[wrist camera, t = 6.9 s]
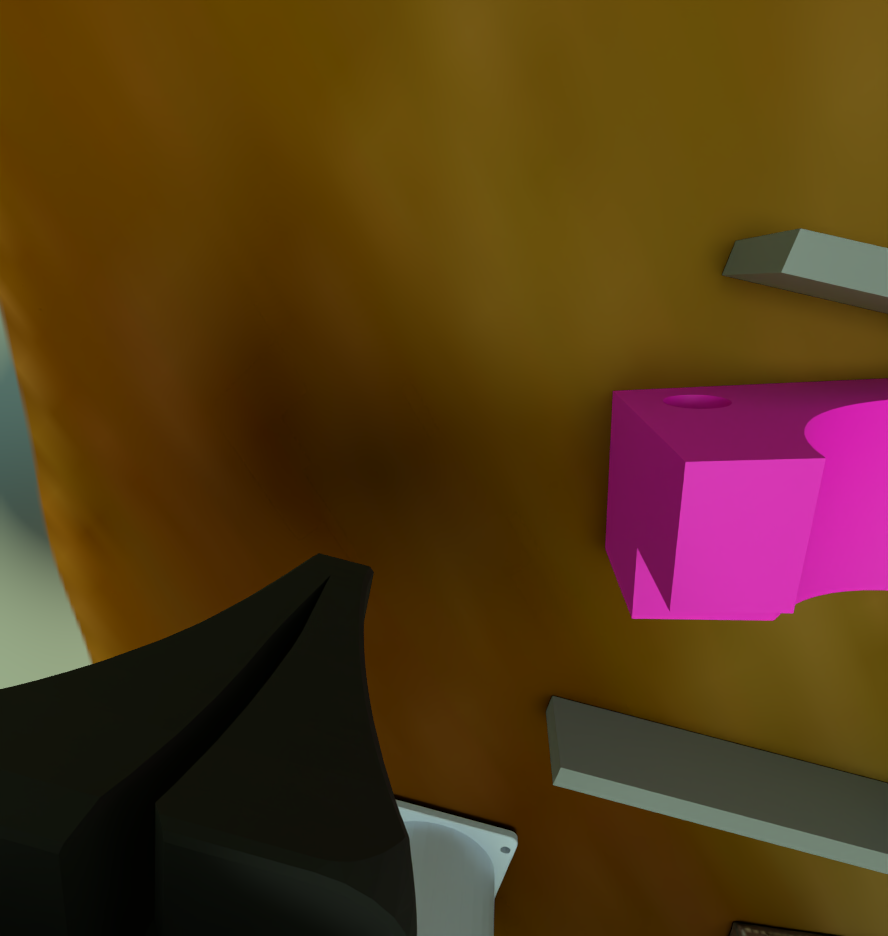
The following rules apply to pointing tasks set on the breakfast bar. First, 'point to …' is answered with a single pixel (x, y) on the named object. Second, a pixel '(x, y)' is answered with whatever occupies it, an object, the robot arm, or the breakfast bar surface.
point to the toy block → (747, 496)
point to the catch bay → (717, 761)
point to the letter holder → (765, 931)
